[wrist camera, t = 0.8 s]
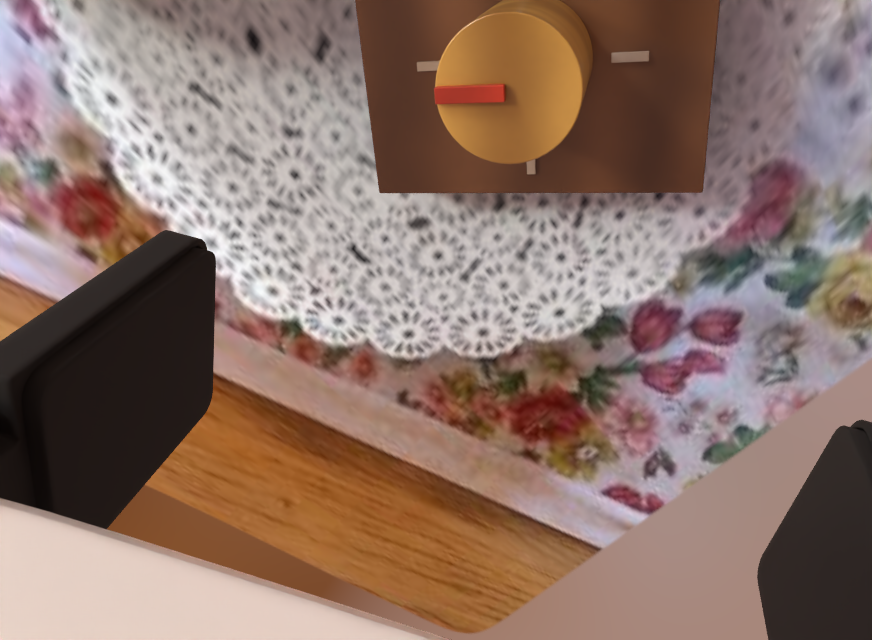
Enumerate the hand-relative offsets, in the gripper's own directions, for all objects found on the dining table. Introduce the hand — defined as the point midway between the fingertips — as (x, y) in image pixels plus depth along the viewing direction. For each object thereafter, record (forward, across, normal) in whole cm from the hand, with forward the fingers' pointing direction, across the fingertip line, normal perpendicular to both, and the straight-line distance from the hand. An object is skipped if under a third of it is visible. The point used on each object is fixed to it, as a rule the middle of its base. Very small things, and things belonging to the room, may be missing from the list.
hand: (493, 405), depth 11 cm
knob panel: (+25, +2, -1) cm, 25 cm away
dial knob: (+22, +2, -1) cm, 22 cm away
